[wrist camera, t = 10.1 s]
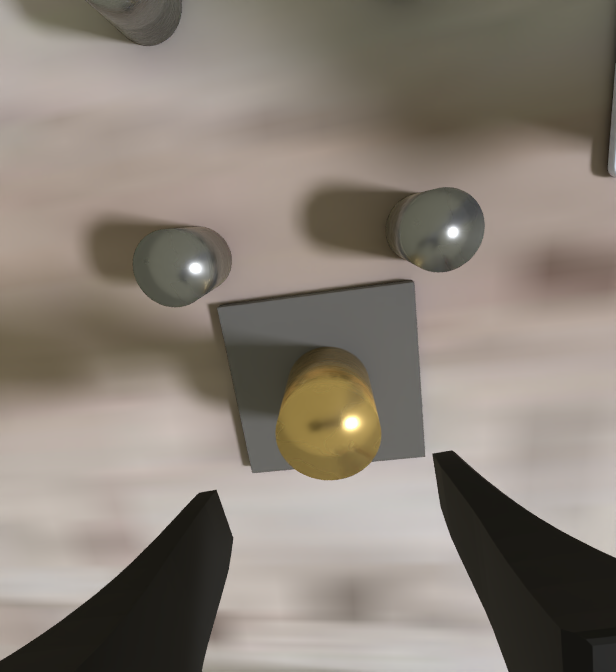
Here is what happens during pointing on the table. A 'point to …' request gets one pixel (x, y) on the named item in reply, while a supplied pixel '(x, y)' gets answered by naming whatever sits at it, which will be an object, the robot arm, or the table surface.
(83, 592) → the table surface
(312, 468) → the brass round stock
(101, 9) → the spacer posts
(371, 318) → the mat
